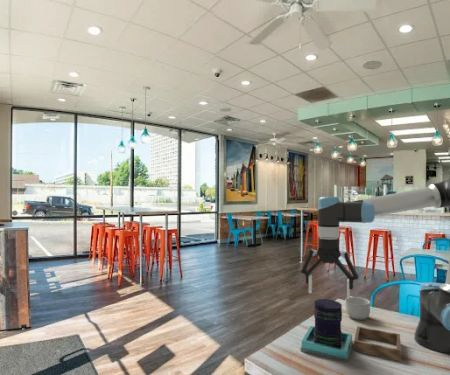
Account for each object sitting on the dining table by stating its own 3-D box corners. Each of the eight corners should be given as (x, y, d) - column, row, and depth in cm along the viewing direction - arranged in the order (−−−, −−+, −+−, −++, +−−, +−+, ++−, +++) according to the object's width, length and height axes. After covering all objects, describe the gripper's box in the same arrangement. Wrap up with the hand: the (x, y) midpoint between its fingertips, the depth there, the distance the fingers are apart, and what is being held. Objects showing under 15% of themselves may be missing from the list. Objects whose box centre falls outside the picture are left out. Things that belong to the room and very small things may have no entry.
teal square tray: (352, 343, 120) (352, 333, 120) (348, 362, 106) (348, 351, 106) (310, 334, 127) (310, 325, 127) (300, 350, 113) (300, 341, 113)
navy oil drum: (311, 347, 114) (312, 305, 114) (315, 336, 123) (315, 297, 123) (341, 352, 110) (341, 309, 110) (342, 341, 119) (342, 301, 120)
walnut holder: (399, 343, 121) (399, 334, 121) (401, 361, 107) (401, 350, 107) (357, 334, 127) (357, 326, 127) (354, 350, 114) (354, 340, 114)
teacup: (372, 323, 140) (372, 305, 140) (346, 320, 142) (347, 302, 142) (365, 312, 154) (365, 295, 154) (341, 309, 156) (342, 293, 156)
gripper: (365, 238, 115) (366, 297, 114) (298, 234, 127) (298, 288, 126) (364, 241, 109) (365, 303, 108) (293, 236, 120) (293, 293, 119)
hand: (328, 295), depth 117 cm, fingers open, 13 cm apart
